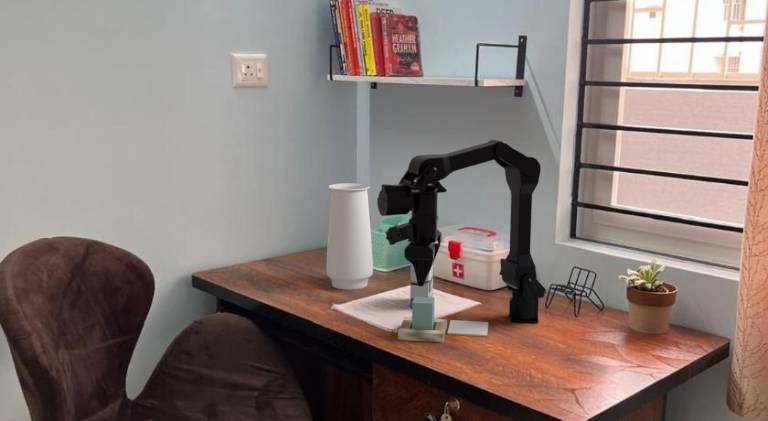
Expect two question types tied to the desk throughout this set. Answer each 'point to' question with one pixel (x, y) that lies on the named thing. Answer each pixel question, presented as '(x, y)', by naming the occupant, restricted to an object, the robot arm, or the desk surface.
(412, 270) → the ink box
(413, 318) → the teal block
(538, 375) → the desk surface
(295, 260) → the desk surface
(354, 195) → the vase
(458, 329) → the grey coaster
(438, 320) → the birch holder
